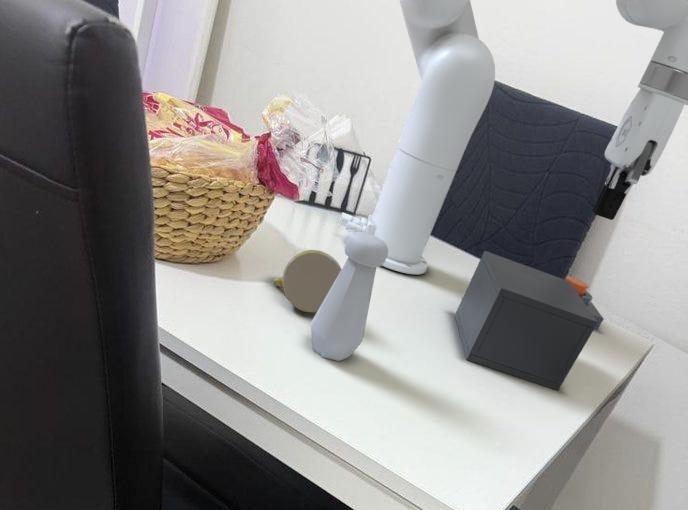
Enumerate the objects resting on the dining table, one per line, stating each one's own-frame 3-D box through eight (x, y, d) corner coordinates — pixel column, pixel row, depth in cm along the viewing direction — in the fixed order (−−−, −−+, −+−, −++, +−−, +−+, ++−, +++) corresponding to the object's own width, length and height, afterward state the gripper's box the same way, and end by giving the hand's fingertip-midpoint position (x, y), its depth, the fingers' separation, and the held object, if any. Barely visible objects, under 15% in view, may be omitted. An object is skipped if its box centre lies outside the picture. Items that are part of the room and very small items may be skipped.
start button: (564, 291, 118) (569, 281, 117) (558, 283, 121) (564, 273, 120) (585, 299, 119) (591, 289, 118) (579, 290, 122) (585, 281, 121)
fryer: (454, 315, 101) (484, 250, 96) (535, 343, 103) (569, 281, 97) (466, 359, 89) (501, 287, 83) (558, 390, 91) (598, 322, 85)
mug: (333, 295, 92) (369, 247, 84) (305, 346, 87) (340, 301, 79) (285, 262, 91) (317, 210, 82) (253, 312, 86) (284, 262, 77)
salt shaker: (316, 332, 80) (354, 221, 73) (361, 354, 80) (404, 243, 72) (296, 347, 76) (335, 229, 68) (344, 370, 75) (388, 254, 68)
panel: (537, 309, 118) (549, 287, 115) (527, 291, 125) (538, 269, 123) (597, 330, 119) (609, 309, 117) (583, 311, 126) (595, 290, 124)
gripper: (629, 71, 104) (569, 197, 114) (660, 81, 92) (590, 220, 102) (675, 89, 105) (612, 212, 115) (713, 100, 92) (638, 237, 103)
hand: (602, 215), depth 108 cm, fingers closed
